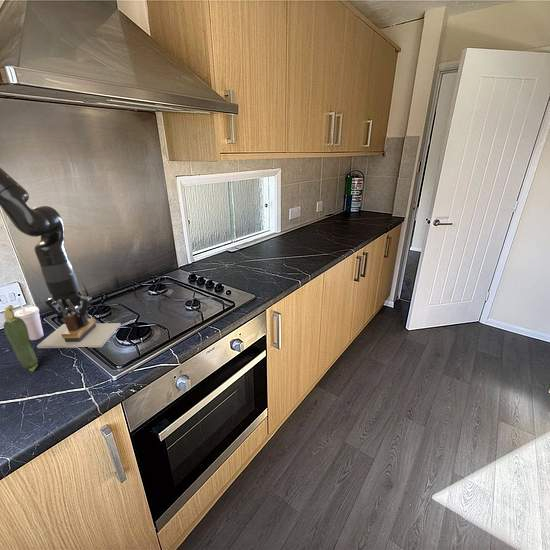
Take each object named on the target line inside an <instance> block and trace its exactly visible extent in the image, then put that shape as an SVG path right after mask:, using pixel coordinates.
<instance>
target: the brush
mask: <svg viewBox="0 0 550 550" xmlns="http://www.w3.org/2000/svg"><path fill="white" fill-rule="evenodd" d="M78 311H79V310H78ZM62 318H63V321H64V324H66V326H67V330H66V331H65V332H64V333H62V334H61V335H62V337H63V338H64V339H65V342H80V341H81V340H82V339H83V338H84V337H85V336H86V335H88V334H89V333H90V332H91V331H92V330H93V329H94V328H95V327H96V324H95V323H97V322H96V319H95V317H94V318H93V317H92V318H91V317H90V318H88V317H87V314H85V318H86V321H87V323H86V325H85V326H84V327H80V326H79V323H78V321H77V317H76V315H75V313H74V312H72V311H71V312H70V313H69V314H67V315H66V316H65V317H63V316H62Z"/></svg>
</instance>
